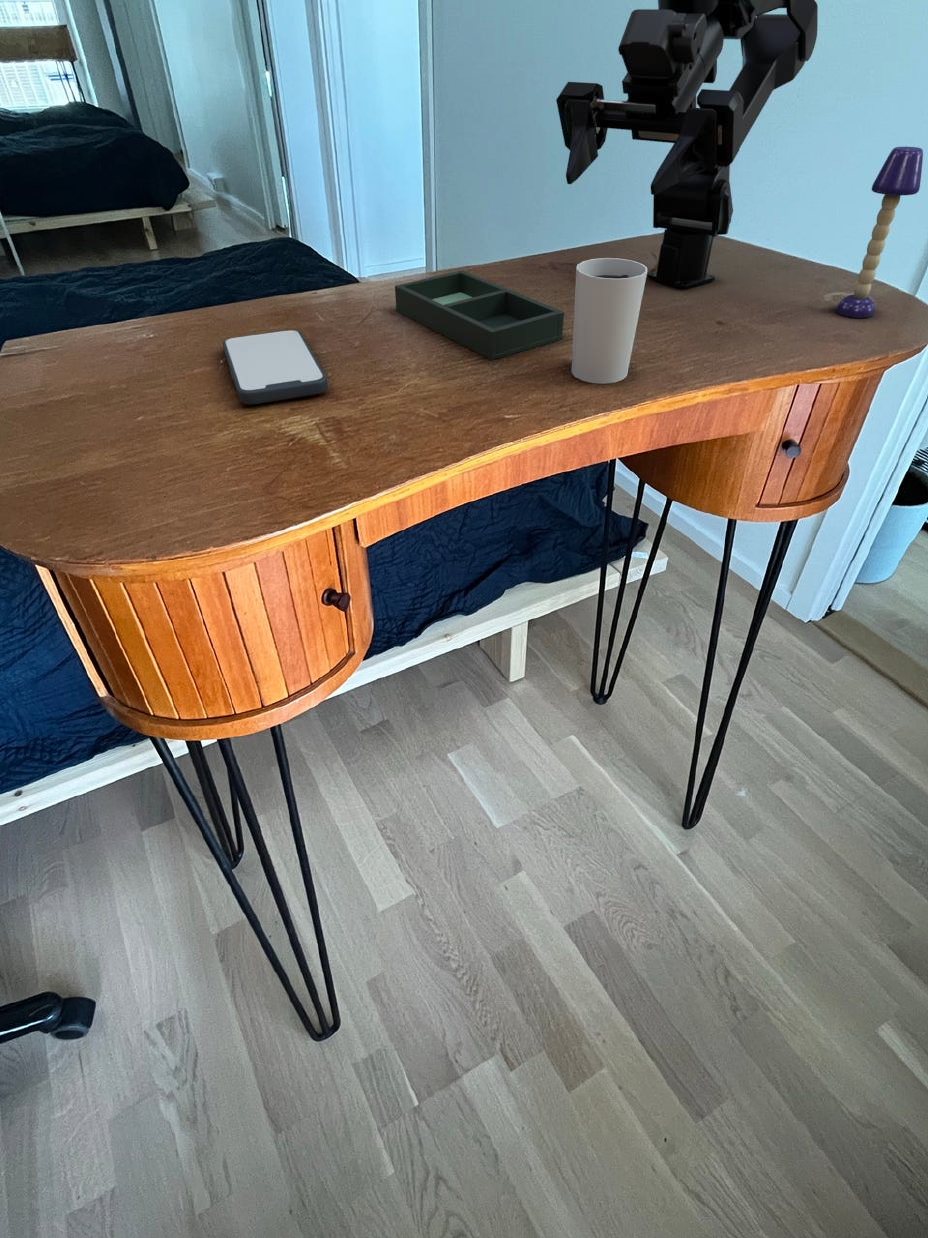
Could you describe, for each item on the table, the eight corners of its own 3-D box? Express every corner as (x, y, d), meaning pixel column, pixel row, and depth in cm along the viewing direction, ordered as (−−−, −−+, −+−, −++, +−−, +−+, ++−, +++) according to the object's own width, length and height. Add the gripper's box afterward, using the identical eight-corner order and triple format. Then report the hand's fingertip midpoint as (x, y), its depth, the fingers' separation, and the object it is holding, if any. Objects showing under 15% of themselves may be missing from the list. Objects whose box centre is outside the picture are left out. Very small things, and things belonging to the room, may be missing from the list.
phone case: (223, 352, 79) (241, 410, 67) (219, 338, 78) (237, 393, 66) (302, 341, 81) (332, 395, 70) (299, 327, 80) (330, 379, 69)
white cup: (609, 355, 77) (622, 254, 70) (644, 378, 72) (662, 273, 65) (555, 365, 75) (563, 263, 68) (587, 390, 70) (599, 282, 63)
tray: (462, 294, 92) (462, 269, 90) (562, 339, 80) (564, 311, 78) (396, 310, 88) (394, 285, 86) (491, 360, 76) (491, 331, 74)
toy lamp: (824, 309, 87) (875, 146, 75) (849, 302, 88) (903, 142, 77) (858, 320, 83) (917, 153, 72) (883, 313, 85) (944, 148, 74)
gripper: (584, -19, 70) (508, 98, 67) (775, -21, 62) (698, 111, 59) (599, 95, 79) (534, 200, 77) (766, 106, 71) (700, 224, 69)
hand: (609, 185), depth 70 cm, fingers open, 9 cm apart
